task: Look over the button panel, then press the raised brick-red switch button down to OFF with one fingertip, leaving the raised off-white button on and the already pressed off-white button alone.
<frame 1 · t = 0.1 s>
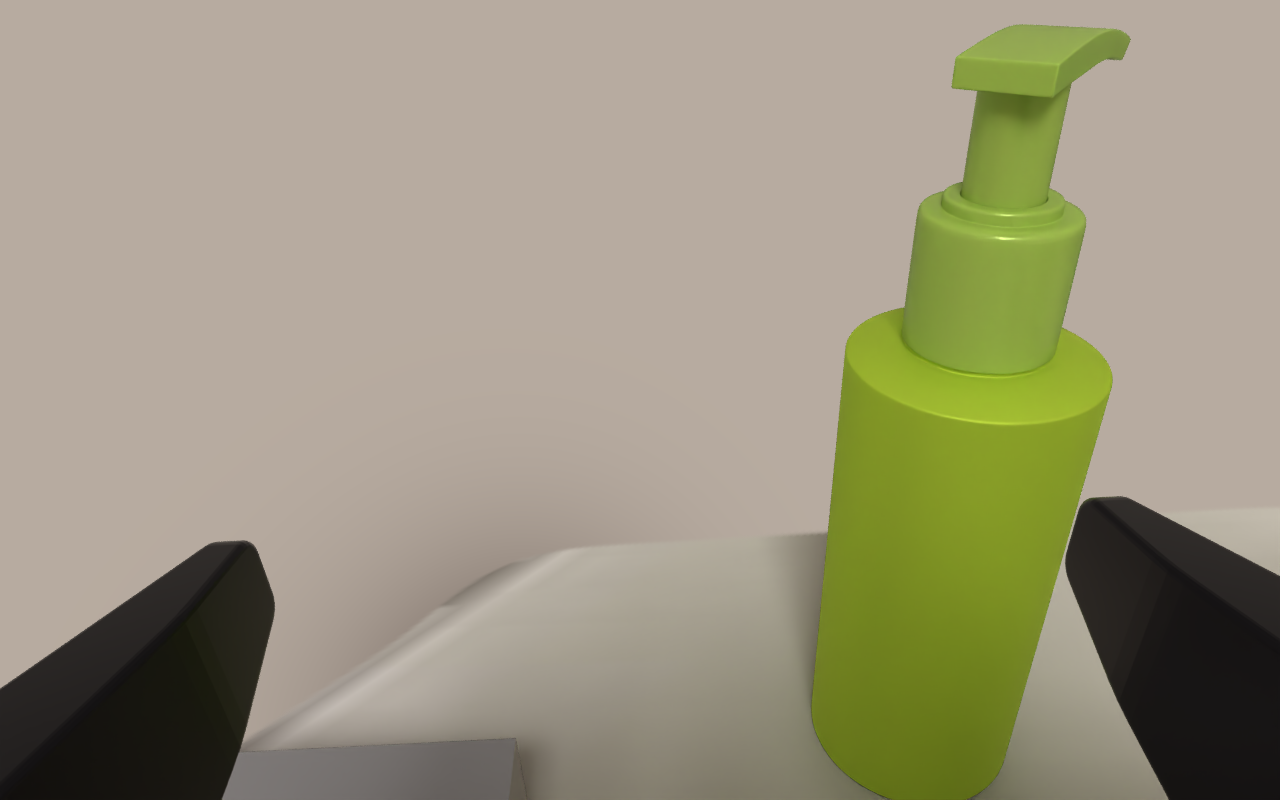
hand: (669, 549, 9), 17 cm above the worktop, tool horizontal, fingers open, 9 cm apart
soap dispenser: (912, 713, 27), on the worktop
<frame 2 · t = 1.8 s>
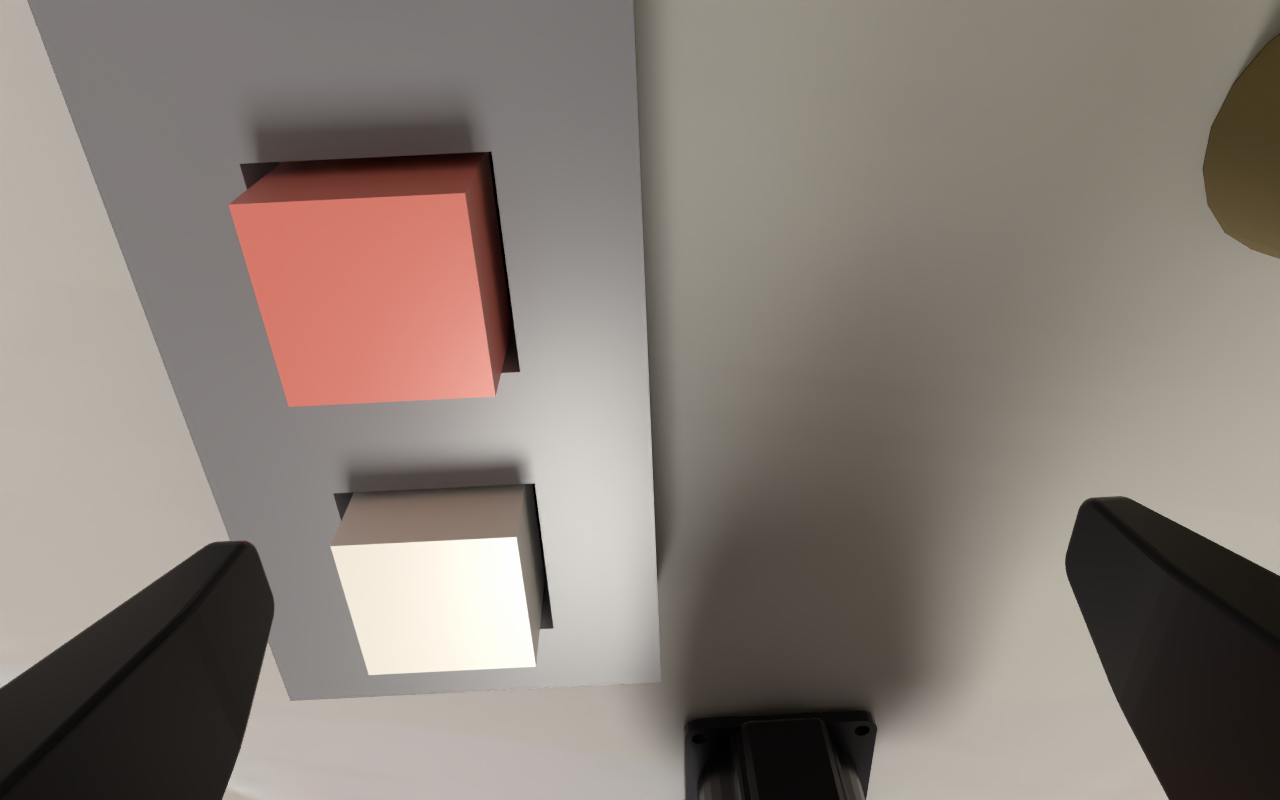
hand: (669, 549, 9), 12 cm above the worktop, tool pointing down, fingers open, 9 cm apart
button 2: (449, 564, 20), point 4 cm above the worktop, slide at 0.0 cm
red button: (389, 275, 17), point 3 cm above the worktop, slide at 0.0 cm
button panel: (424, 217, 20), on the worktop
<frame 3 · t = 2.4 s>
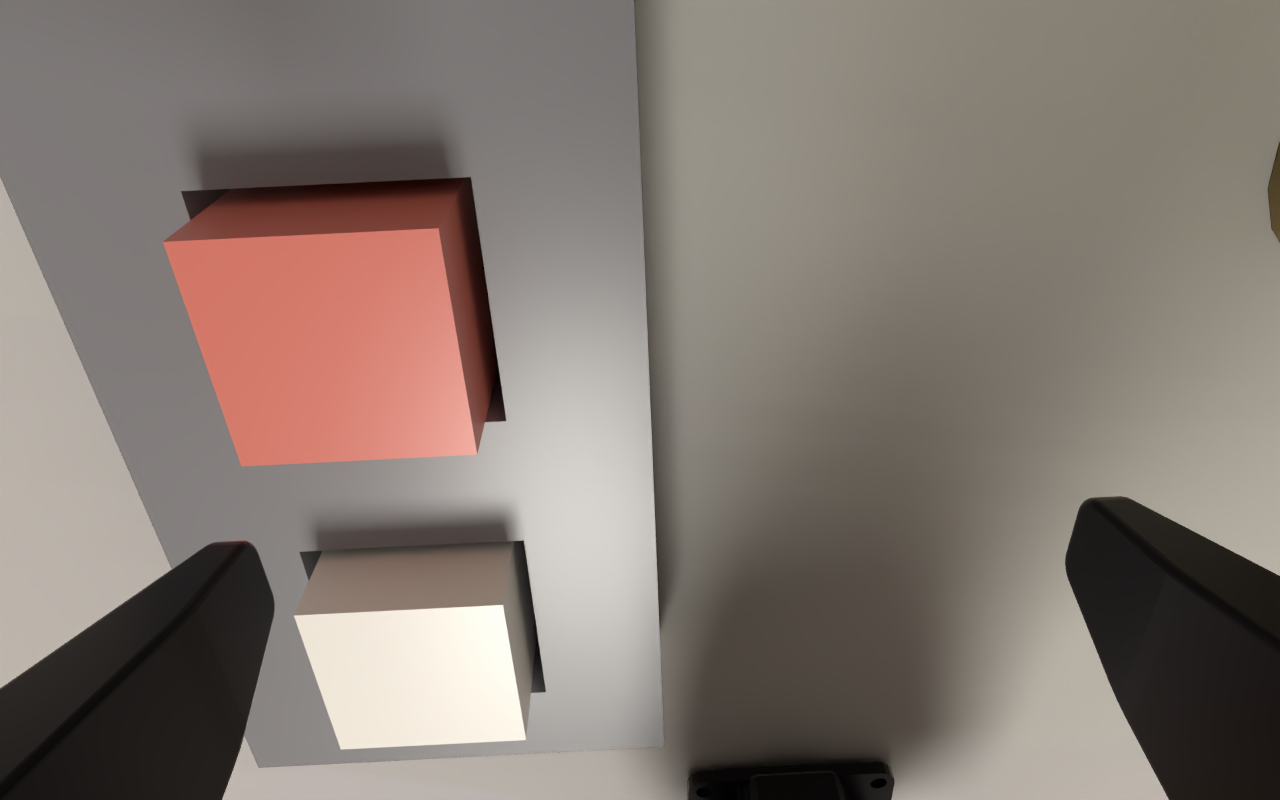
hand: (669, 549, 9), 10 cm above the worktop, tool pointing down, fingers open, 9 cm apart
button 2: (430, 626, 18), point 3 cm above the worktop, slide at 0.0 cm
red button: (357, 315, 15), point 3 cm above the worktop, slide at 0.0 cm
button panel: (400, 243, 18), on the worktop
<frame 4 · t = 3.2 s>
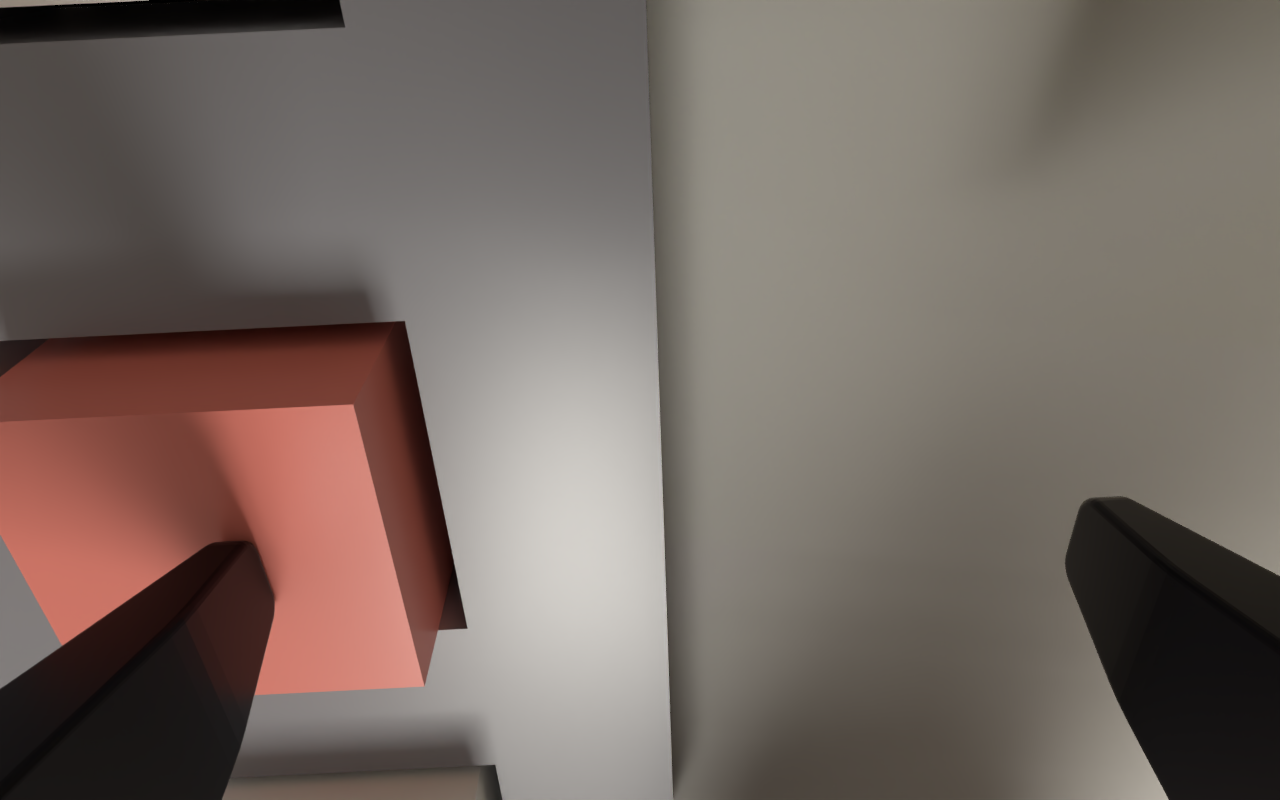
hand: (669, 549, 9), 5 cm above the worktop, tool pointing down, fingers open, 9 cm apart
red button: (258, 487, 10), point 3 cm above the worktop, slide at 0.3 cm, touching gripper
button panel: (332, 364, 13), on the worktop
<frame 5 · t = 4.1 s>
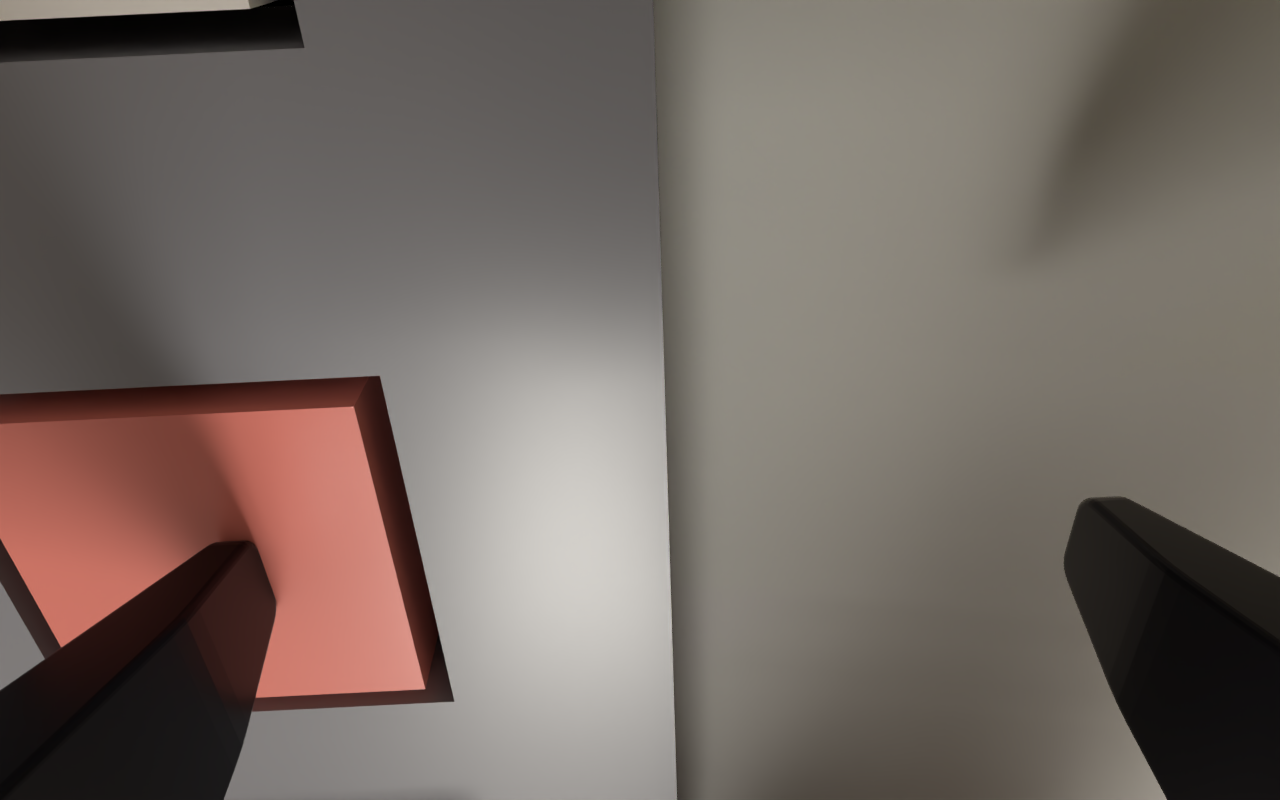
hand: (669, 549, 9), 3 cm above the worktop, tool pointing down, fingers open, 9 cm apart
red button: (259, 489, 10), point 2 cm above the worktop, slide at 1.5 cm, touching gripper
button panel: (310, 403, 12), on the worktop
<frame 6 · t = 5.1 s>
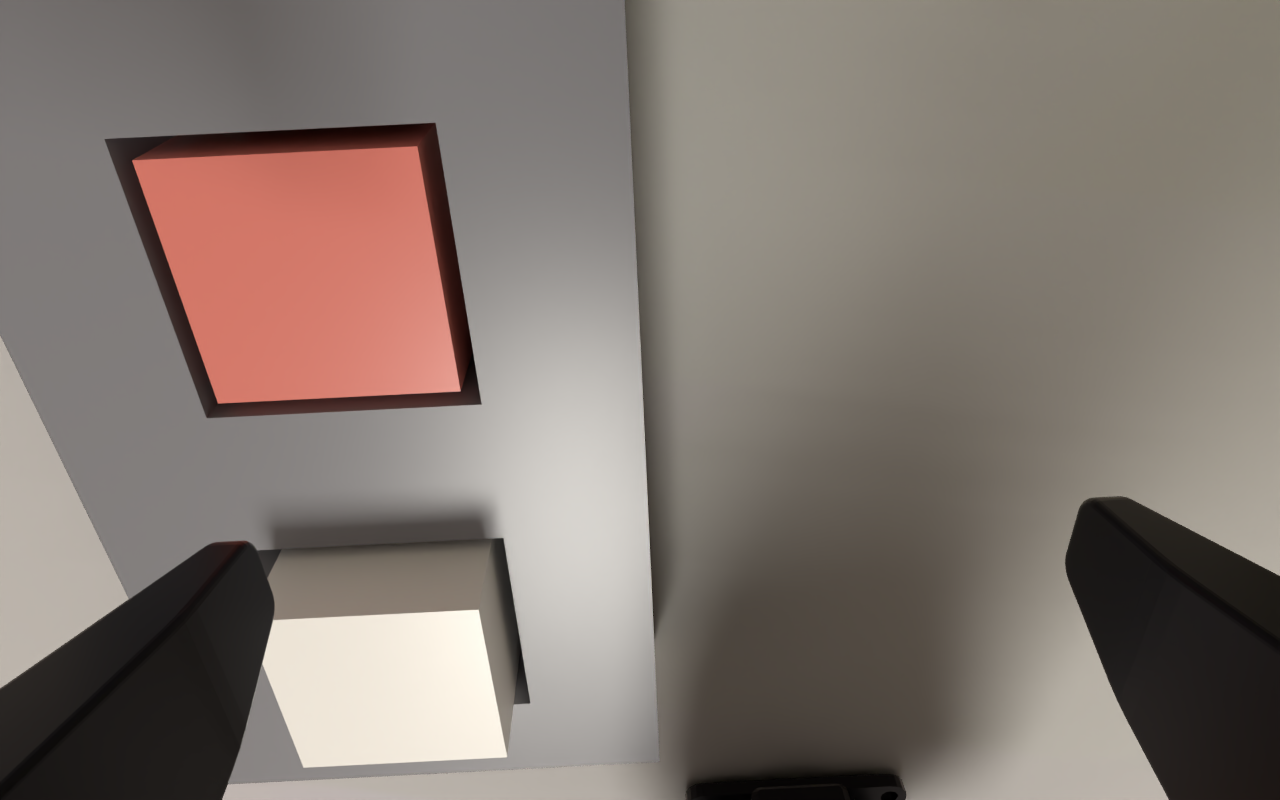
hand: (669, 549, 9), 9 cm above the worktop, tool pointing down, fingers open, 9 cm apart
button 2: (402, 632, 17), point 3 cm above the worktop, slide at 0.0 cm
red button: (337, 249, 14), point 2 cm above the worktop, slide at 1.5 cm
button panel: (367, 209, 16), on the worktop
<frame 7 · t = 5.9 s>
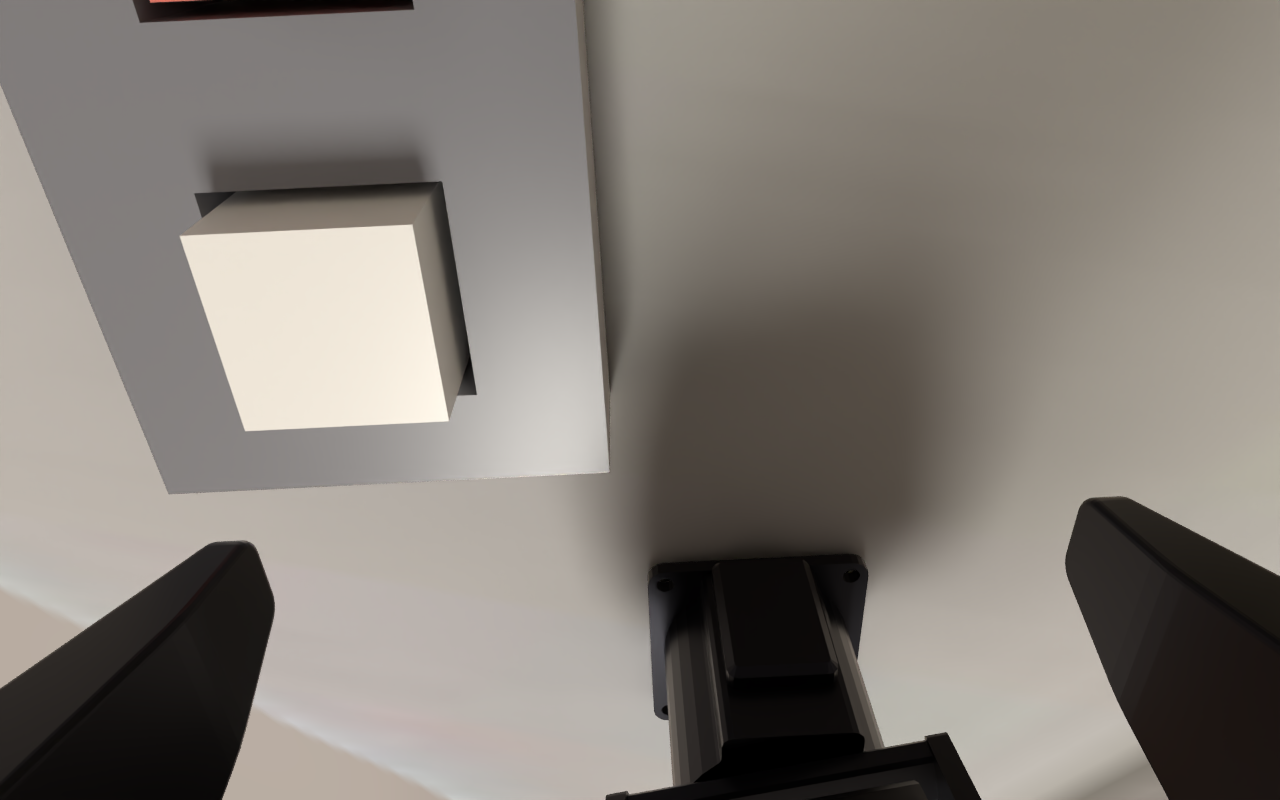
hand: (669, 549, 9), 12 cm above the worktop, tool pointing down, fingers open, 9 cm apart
button 2: (345, 301, 17), point 3 cm above the worktop, slide at 0.0 cm
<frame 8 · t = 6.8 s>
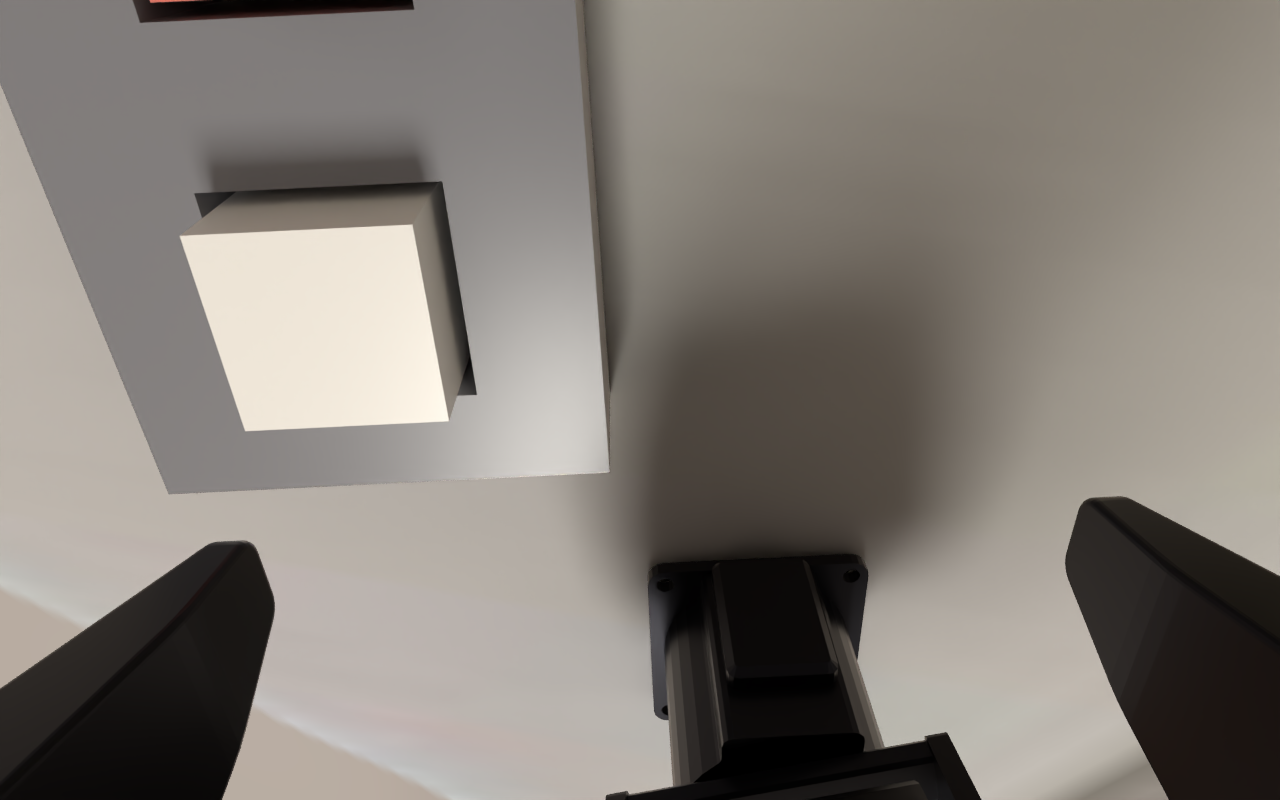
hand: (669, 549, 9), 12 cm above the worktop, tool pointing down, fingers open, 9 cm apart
button 2: (345, 301, 17), point 3 cm above the worktop, slide at 0.0 cm
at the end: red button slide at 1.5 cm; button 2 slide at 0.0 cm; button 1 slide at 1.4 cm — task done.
